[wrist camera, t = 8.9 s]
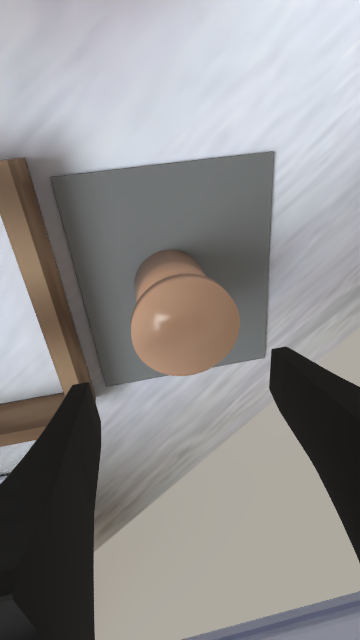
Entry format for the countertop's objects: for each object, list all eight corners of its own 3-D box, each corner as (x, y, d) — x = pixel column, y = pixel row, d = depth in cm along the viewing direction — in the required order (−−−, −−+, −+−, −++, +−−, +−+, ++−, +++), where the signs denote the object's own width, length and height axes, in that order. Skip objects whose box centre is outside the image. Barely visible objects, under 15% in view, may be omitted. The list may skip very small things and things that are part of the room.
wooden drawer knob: (210, 313, 22) (239, 366, 17) (134, 325, 21) (139, 383, 16) (207, 237, 19) (240, 272, 14) (121, 249, 19) (122, 289, 14)
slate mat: (263, 356, 25) (264, 357, 25) (106, 384, 24) (106, 386, 23) (272, 151, 18) (273, 151, 18) (51, 176, 17) (50, 177, 16)
